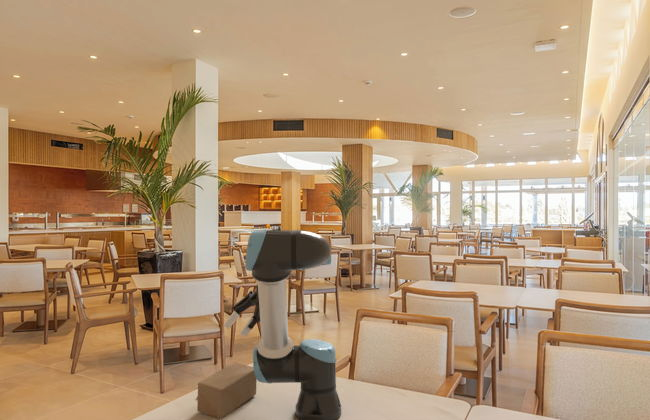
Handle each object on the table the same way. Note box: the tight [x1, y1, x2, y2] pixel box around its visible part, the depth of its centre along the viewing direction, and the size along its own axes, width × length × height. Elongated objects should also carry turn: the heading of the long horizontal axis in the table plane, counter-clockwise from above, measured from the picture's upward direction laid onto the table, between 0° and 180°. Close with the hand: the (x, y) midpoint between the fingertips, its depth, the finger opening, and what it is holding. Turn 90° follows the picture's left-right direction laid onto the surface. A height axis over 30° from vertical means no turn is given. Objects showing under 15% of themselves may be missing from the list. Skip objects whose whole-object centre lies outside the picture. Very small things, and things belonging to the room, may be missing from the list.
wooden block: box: [197, 362, 258, 419], centre depth 161 cm, size 10×10×20 cm
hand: (233, 331), depth 172 cm, fingers open, 12 cm apart
